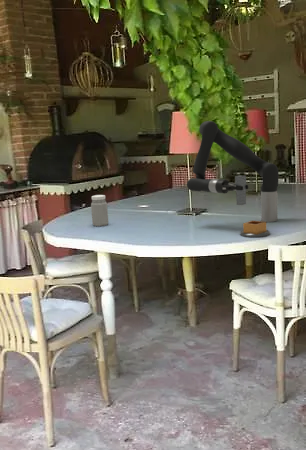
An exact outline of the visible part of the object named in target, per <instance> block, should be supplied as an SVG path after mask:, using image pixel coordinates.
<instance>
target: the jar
mask: <svg viewBox="0 0 306 450" xmlns="http://www.w3.org/2000/svg"><path fill="white" fill-rule="evenodd" d="M90 208H91V209H90V210H91V211H90V212H91V222H92V225H93V226H94V227H105V226H107V225H108V224H109V212H108V203H107V199H106V195H105V194H95V195H92V196H91V203H90Z"/></svg>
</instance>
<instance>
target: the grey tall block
mask: <svg viewBox="0 0 306 450" xmlns="http://www.w3.org/2000/svg"><path fill="white" fill-rule="evenodd" d="M234 180H235V181H234V183H235V185H236V186H243V190H236V191H235V192H236V196H235V197H236V205H237V206H244V205H247V195H246V194H247V193H246V192H247V189H246V185H247V175H235V176H234Z"/></svg>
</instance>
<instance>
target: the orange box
mask: <svg viewBox="0 0 306 450" xmlns="http://www.w3.org/2000/svg"><path fill="white" fill-rule="evenodd" d="M242 225H243V230H241V231H240V236H241V237H244V238H250V239H251V238H253V239H255V238H265V237H269V236H270V235H271V232H270V230H268V229H267V222H264V221H260V220H250V221H246V222H243V224H242Z"/></svg>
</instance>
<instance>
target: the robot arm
mask: <svg viewBox="0 0 306 450" xmlns="http://www.w3.org/2000/svg"><path fill="white" fill-rule="evenodd" d="M199 133H200V135H201V141H200V145H199V149H198V152H197V154H196V156H195V160H194V164H193V169H192V173H193V174H195V178H194V177H192V178H190V179H188V180H187V182H186V187H187V189H188V190H190V191H193V192H205V193H206V192H207V193H215V194H227V193H229V192H230V191H231V192H233V191H235V192H236V190H243V186H236V185H235V182H229V180H228V179H220V178H213V179H212V178H211V179H208V178H206V171H207V166H208V162H209V157H210V153H211V150H212V147H213V144H216V145H218V146H219V147H220V149H222V150H224V151H225V152H226V153H228V154H229V155H230V156H231V157H233V158H234V159H236V160H237V161H238V162H241V163H242V164H244V165H246V166H248V167H250V168H251V169H252V170H253V171H255V172H256V173H257V174H258V175H259V176H260V177H261V178H262V179H261V180H262V181H261V183H262V184H261V186H260V208H261V209H260V211H261V212H260V213H261V215H260V217H261V218H260V219H261V221H262V222H266V223H273V222H278V215H279V213H278V212H279V211H278V187H279V174H280V173H279V168H278V166H277V165H276V164H275V163H271V162H268V161H266V160H264V159H262V158H261V157H260V156H258V155H257V154H256V153H255V152H253V150H252V149H251V148H250V147H249V146H247V145H246V144H245V143H243V142H242V141H240V139H239V140H238V139H237V138H235V137H233V136H231V135H229V134H227V133H225V132H224V131H222V130H221V129H220V128H219V127H218V125H217V123H216V122H215V121H212V120H207V121H203V122H202V123H201V124H200V126H199ZM246 190H249V184H246Z"/></svg>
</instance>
